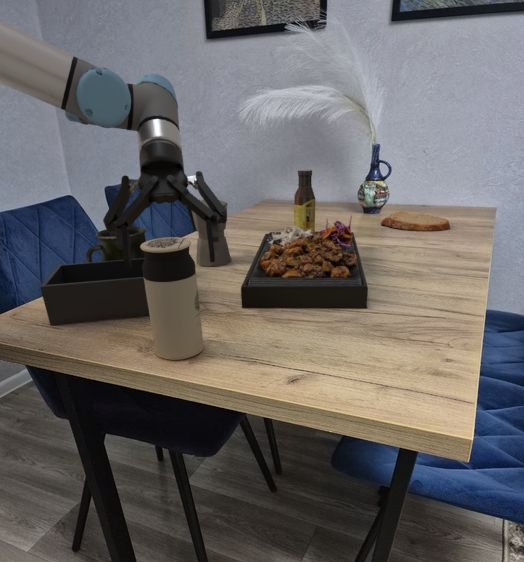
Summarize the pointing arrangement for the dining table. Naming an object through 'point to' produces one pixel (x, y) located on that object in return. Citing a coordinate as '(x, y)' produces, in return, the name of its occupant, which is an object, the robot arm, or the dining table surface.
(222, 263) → the coffeepot
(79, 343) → the dining table surface
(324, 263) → the food platter
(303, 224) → the sauce bottle
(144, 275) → the travel mug
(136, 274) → the bin
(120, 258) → the mug
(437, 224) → the bread slice
